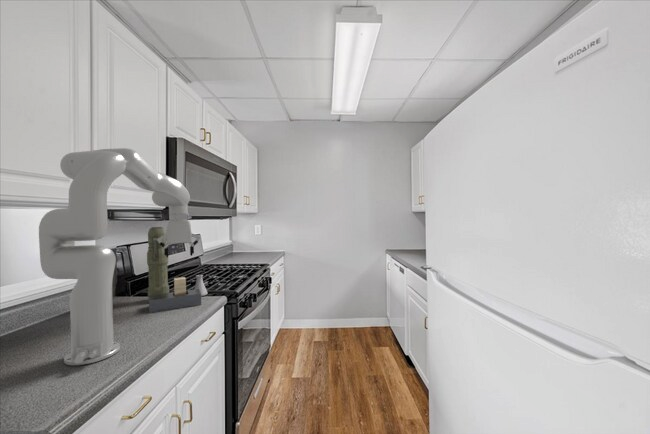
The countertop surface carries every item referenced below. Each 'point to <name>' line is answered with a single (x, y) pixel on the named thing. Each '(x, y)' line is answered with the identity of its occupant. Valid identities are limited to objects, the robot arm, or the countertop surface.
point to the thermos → (157, 263)
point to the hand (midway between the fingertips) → (179, 256)
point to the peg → (179, 286)
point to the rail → (174, 300)
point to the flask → (200, 285)
